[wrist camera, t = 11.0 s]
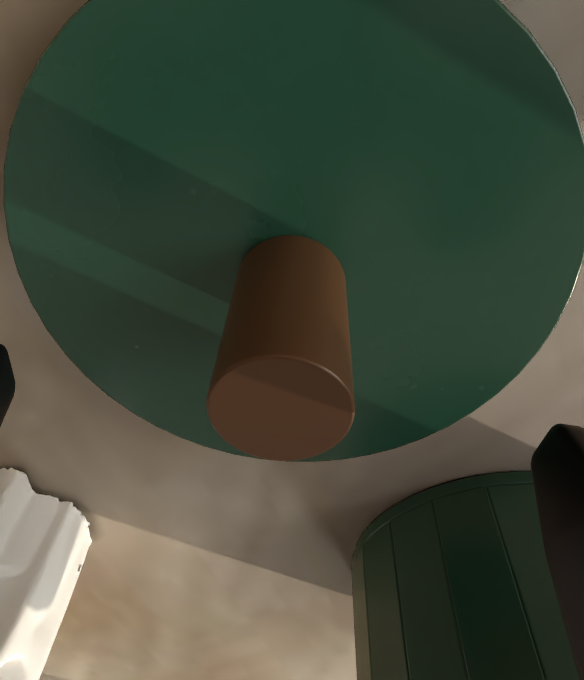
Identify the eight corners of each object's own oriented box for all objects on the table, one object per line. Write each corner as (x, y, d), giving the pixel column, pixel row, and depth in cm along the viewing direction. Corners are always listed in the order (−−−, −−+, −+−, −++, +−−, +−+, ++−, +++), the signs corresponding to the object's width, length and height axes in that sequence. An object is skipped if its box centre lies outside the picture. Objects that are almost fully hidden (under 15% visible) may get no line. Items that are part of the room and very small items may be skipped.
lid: (700, -1, 9) (1030, 45, 5) (454, 455, 16) (499, 625, 12) (-32, -144, 8) (-393, -236, 4) (65, 402, 16) (-26, 564, 12)
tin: (728, 494, 17) (946, 788, 11) (565, 637, 24) (645, 864, 18) (395, 449, 16) (438, 735, 10) (327, 609, 23) (330, 835, 17)
